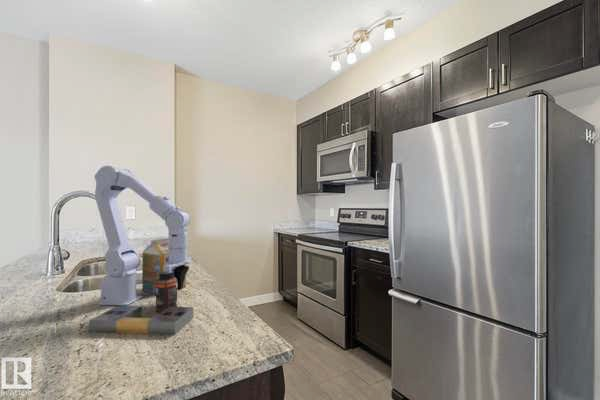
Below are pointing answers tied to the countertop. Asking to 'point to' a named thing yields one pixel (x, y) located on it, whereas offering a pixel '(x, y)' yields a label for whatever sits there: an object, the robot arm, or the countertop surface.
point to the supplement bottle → (166, 291)
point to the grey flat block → (141, 320)
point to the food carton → (155, 263)
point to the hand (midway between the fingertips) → (178, 289)
